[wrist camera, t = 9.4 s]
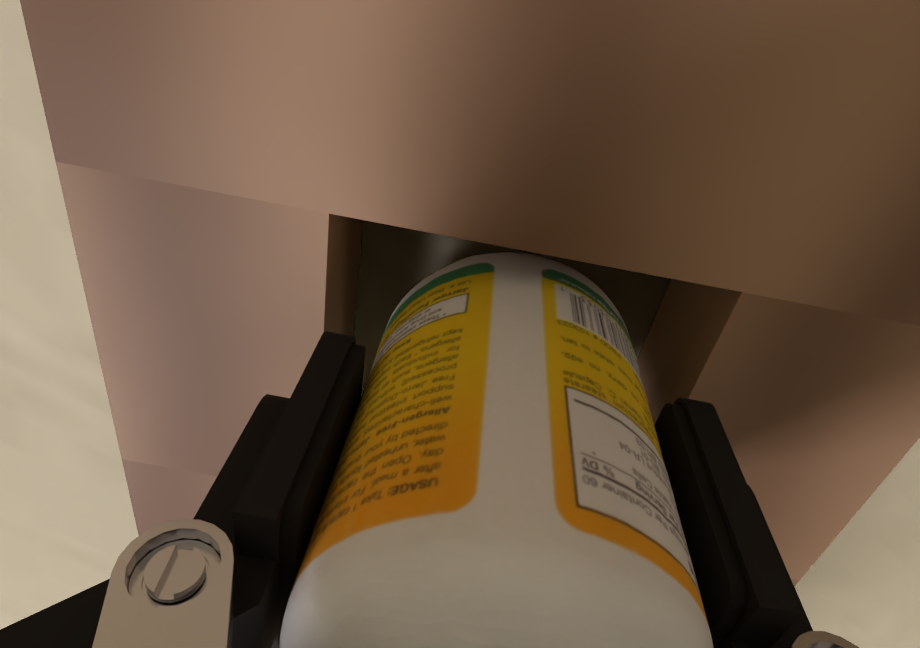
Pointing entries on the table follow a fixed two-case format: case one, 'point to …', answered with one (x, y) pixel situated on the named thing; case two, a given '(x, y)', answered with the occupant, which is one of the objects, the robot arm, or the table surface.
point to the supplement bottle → (500, 481)
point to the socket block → (502, 205)
